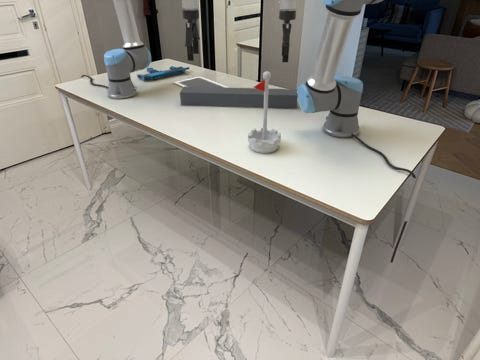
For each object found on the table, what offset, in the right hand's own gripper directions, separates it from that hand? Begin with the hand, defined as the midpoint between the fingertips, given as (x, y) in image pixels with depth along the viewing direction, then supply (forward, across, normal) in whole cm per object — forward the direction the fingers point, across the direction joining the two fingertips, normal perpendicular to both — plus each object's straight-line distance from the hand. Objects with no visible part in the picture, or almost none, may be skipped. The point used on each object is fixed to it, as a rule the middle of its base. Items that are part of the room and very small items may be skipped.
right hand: (284, 58), depth 164 cm
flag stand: (+24, +47, -8) cm, 54 cm away
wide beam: (+23, -1, -22) cm, 32 cm away
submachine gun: (+22, -51, -78) cm, 96 cm away
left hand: (0, 0, -45) cm, 45 cm away
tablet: (+23, -28, -47) cm, 60 cm away
